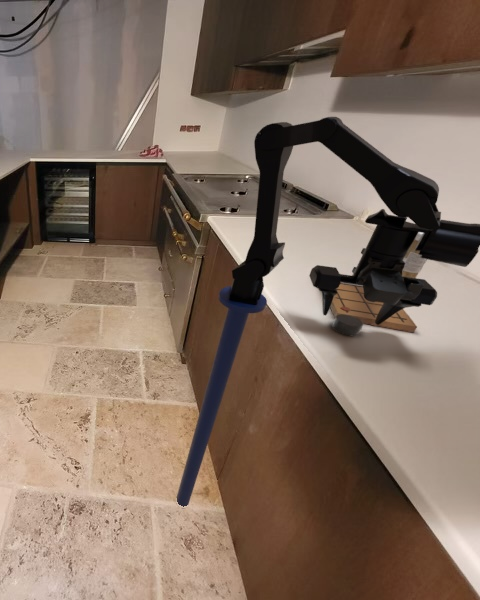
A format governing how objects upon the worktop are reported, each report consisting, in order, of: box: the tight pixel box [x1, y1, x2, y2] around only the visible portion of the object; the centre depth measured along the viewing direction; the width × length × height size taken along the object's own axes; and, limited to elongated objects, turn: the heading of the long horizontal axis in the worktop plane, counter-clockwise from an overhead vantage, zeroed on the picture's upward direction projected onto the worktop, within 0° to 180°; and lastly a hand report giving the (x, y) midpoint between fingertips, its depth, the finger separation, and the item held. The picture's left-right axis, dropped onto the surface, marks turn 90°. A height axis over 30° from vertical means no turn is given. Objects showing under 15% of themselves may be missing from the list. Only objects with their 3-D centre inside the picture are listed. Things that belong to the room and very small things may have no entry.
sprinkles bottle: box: [402, 232, 428, 278], centre depth 84 cm, size 5×5×14 cm
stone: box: [331, 314, 364, 337], centre depth 68 cm, size 5×5×2 cm
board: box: [330, 284, 418, 333], centre depth 77 cm, size 14×20×2 cm
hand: (349, 319), depth 68 cm, fingers open, 9 cm apart
